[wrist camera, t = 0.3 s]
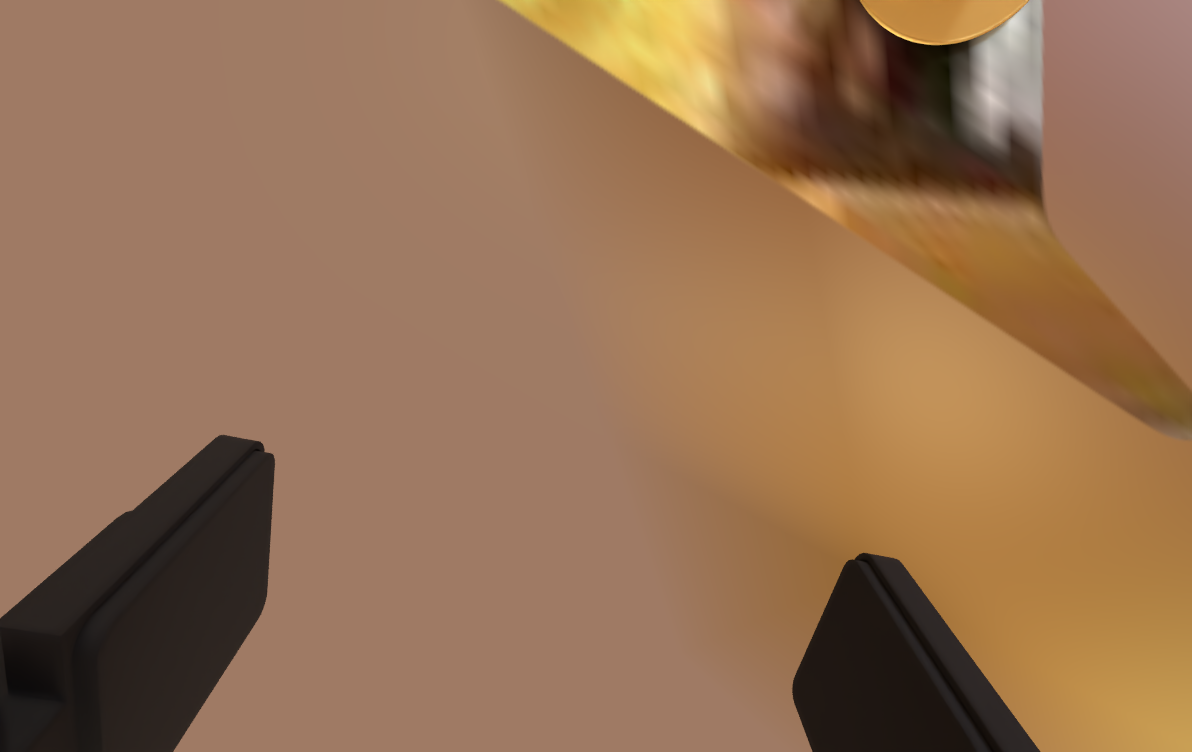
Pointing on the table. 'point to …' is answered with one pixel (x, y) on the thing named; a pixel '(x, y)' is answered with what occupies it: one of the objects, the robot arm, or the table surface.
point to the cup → (941, 18)
